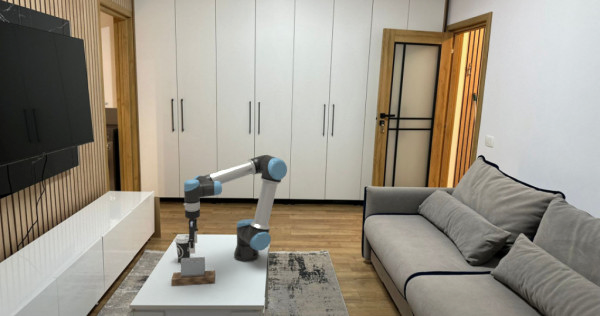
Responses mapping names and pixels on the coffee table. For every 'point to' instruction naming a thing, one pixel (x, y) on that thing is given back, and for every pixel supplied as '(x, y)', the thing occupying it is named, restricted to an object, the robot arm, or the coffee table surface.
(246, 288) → the coffee table surface
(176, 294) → the coffee table surface
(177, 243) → the coffee cup
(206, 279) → the rail
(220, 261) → the coffee table surface
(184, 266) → the grey flat block
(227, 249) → the coffee table surface
